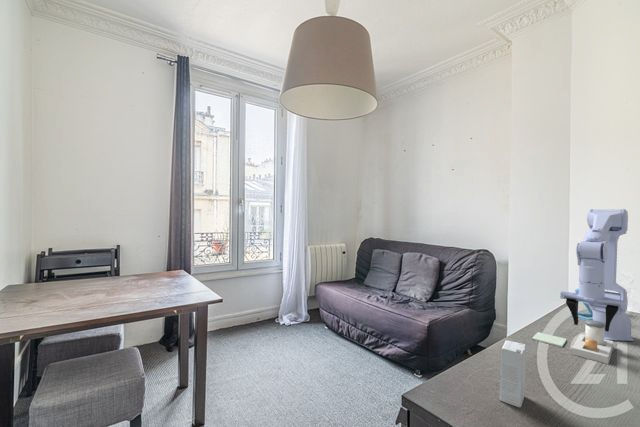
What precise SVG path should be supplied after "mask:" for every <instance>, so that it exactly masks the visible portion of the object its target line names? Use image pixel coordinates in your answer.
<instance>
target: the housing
mask: <svg viewBox="0 0 640 427" xmlns="http://www.w3.org/2000/svg"><path fill="white" fill-rule="evenodd" d="M613 350H614V340H605V339H604V346H601V345H597V350H591V349H588V348H586V347H585V334H583V333H580V334H579V335H578V337H577V338H576V340H575V342H574V344H573V345H572V347H571V355H573V356H577V357H581V358H583V359H584V358H585V359H588V360H592V361H596V362H599V363H603V364H605V365H606V364H607V365H610V364H609V363H610V360H611V357H612V354H613Z"/></svg>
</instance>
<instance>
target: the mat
mask: <svg viewBox="0 0 640 427" xmlns="http://www.w3.org/2000/svg"><path fill="white" fill-rule="evenodd" d="M531 340H532V341H535V342H536V341H537V342H539V341H540V343H543V342H544V343H543V344H548V345H551V346H555V347H559V348H563V347H564V345H565V344H566V343H567V341H568V339H567V338H565V337H560V336H556V335H552V334H547V333H544V332H539V331H538V332H536V333H535V334H534V336H533V337H531Z"/></svg>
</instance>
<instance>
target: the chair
mask: <svg viewBox="0 0 640 427" xmlns="http://www.w3.org/2000/svg"><path fill="white" fill-rule="evenodd" d="M574 291H575V292H574V293H579V288H576V289H574ZM578 303H583V306H585V308H586V310H587V309H588V310H587V311H588V313H585V312H578V319H581V318H582V320H584V319H585V320H593V311H592V310H591V309H590V307H589V305H588V304H587V302H582V301H578ZM570 315H571V316H572V314H571V313H570ZM585 320H584V321H585Z"/></svg>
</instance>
